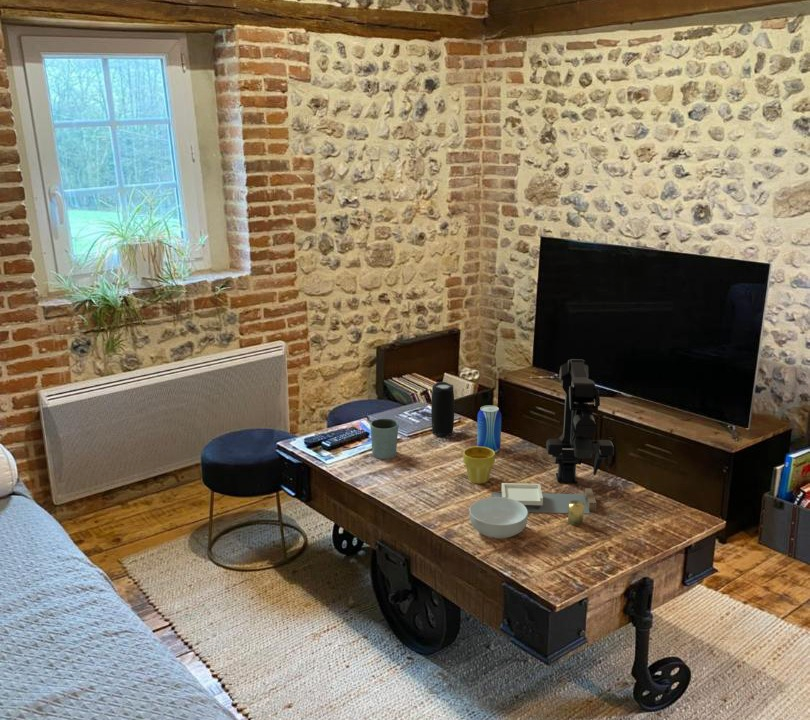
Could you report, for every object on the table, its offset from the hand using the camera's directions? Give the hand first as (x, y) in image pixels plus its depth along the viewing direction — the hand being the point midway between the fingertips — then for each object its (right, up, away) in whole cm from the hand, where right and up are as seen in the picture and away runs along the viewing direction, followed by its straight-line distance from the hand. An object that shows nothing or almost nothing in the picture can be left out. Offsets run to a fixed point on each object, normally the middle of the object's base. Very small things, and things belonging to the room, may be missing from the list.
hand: (578, 474), depth 234 cm
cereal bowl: (-24, -16, -3) cm, 29 cm away
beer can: (-21, +1, +55) cm, 58 cm away
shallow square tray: (-15, -11, +15) cm, 23 cm away
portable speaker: (-36, +5, +70) cm, 79 cm away
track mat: (-9, -11, +14) cm, 20 cm away
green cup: (-58, -1, +52) cm, 78 cm away
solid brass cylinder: (0, -14, +2) cm, 15 cm away
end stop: (+6, -11, +13) cm, 19 cm away
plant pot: (-26, -6, +31) cm, 41 cm away
